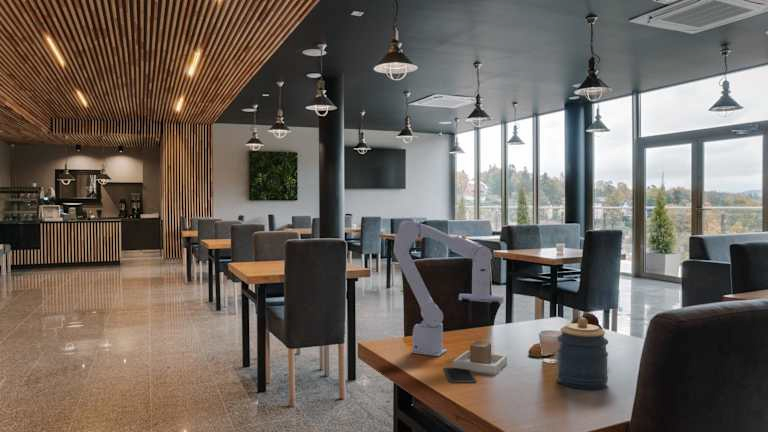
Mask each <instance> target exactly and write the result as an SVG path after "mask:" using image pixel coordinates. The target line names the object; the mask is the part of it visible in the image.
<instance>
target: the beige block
mask: <svg viewBox="0 0 768 432" xmlns="http://www.w3.org/2000/svg"><path fill="white" fill-rule="evenodd" d="M469 347H470V349H469V351H470V362H474V363H481V364H488V365H489V364H490V363H491V354H492V342H486V341H477V340H476V341H475V342H473V343H472V344H470V345H469Z"/></svg>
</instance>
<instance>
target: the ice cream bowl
mask: <svg viewBox="0 0 768 432" xmlns="http://www.w3.org/2000/svg"><path fill="white" fill-rule="evenodd" d="M579 318H585V319H586V320H587V321H588V324H591V325H595V326H598V327H599V328H600V329H602V330H603V331H604V332H605V330H604V329H603V327H602V326H601V324H600V321H599V317H597V316H596V314H594V313H593V314H592V313H590V312H589V313H584V314H582V315H581V317H580V316H578V317H576V318H574V319H573V320H572V321H571V322H570V324H571V323H577V322H578V319H579ZM605 333H606V332H605ZM603 336H604V337H605V334H604V335H603Z"/></svg>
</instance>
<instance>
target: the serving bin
mask: <svg viewBox="0 0 768 432" xmlns="http://www.w3.org/2000/svg"><path fill="white" fill-rule="evenodd" d="M507 364H508V356H507V355H504V354H495V353H491V363H490V364H489V365H488V364H481V363H474V362H470V350H466V351H465V352H463V353H462V354H461V355H459V356H457V357H456V358H455V359H453V360H452V367H453V368H458V369H465V370H470V371H471V373H478V374H485V375H491V376H492V375H493V376H496V375H497V374H498V373H499V372H500V371H501V370H502V369H504V368H505V367H506V366H507Z"/></svg>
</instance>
